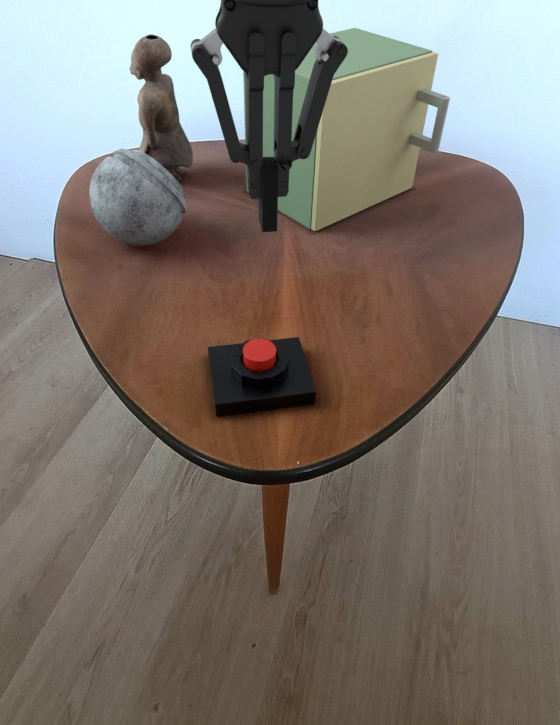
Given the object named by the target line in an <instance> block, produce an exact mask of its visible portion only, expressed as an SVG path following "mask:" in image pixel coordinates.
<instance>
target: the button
mask: <svg viewBox="0 0 560 725" xmlns="http://www.w3.org/2000/svg"><path fill="white" fill-rule="evenodd" d="M250 340H251V341H249V342H247V343H246V344H245V346H244V347H243V362H244V365H245V366H246V367H247V368H248V369H250V370H253V371H257V372H259V371H267V370H269V369H271V368H272V367H273V366H274V365H275V363H276V347H275V345H274V344H273V343H272V342H270V341H268V340H269V339H265V338H255V339H250Z"/></svg>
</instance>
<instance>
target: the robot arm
mask: <svg viewBox="0 0 560 725" xmlns="http://www.w3.org/2000/svg"><path fill="white" fill-rule="evenodd" d="M214 23H215V26H214V27H215V28H214V29H213V30H211V31H210V32H209V33H207V34H206V35H205V36H204V37H202V38H201V39H200V38H195V39H193V40H192V41H191V42H190V46H189V47H190V53H191V57H192V61H193V62H194V63H195V64H196V66H197V67H198V69H199V71H200V72H201V74H202V75H203V76H204V77H205V79H206V81H207V85H208V88H209V92H210V95H211V98H212V102H213V106H214V109H215V112H216V116H217V119H218V122H219V126H220V129H221V133H222V136H223V139H224V143H225V147H226V149H227V153H228V156H229V159H230V162H232V163H233V164H239V163H241V164H244V165H245V166H246V165H247V177H248V178H247V179H248V190H249V192H248V194H249V196H250V198H251V200H254V199H258V221H259V226H260V228H261V229H260V230H261V233H272V232H274V233H275V232H278V214H279V213H278V211H279V210H278V197H285V196H287V194H288V192H289V169H290V168H291V167H292V162H293V161H295V160H297V159H306V158H308V157H309V155H310V152H311V149H312V146H313V142H314V139H315V136H316V133H317V129H318V126H319V123H320V119H321V116H322V113H323V109H324V106H325V103H326V99H327V96H328V93H329V89H330V86H331V83H332V79H333V76H334V74H335V72H336V71H337V70H338V68H339V67H340V65H341V64H342V62H343V61H344V59H345V58H346V56H347V54H348V49H347V47H346V45H345V44H344V43H343V42H342V41H341V40H340V38H339V37H337V36H332V35H331V34H330V33H331V32H328V31H327V30H326V29H325V28H324V20H323V17H322V15H321V12H320V9H319V0H220V6H219V9H218V12H217V14H216V17H215V22H214ZM315 42H316V48H315V50H314V54H315V57H316V58H317V59H316V61H315V63H314V66H313V69H312V73H311V76H310V80H309V84H308V87H307V91H306V94H305V98H304V102H303V105H302V109H301V113H300V116H299V120H298V124H297V127H296V131H295V134H294V138H293V141H291V140H292V112H293V89H294V86H295V70H296V69H297V68H298V67H299V66H300V64H301V63H302V62H303V60H304V59H305V57H306V56H307V54H308V53H309V51H310V50H311V48H312V47H313V45H314V44H315ZM222 45H224V47H225V48H226V49H227V51H228V52H229V53H230V55H231V56H232V57H233V59H234V60H235V62H236V63H237V65H238V66H239V68H240V69H241V70H242V72H243V71H244V76H245V102H246V144H245V143H242V142H240V139H239V136H238V131H237V128H236V124H235V121H234V117H233V114H232V110H231V107H230V103H229V99H228V96H227V92H226V88H225V84H224V81H223V77H222V74H221V70H220V67H219V66H220V65H221V64H222V62H223V55H222V51H221V48H222ZM269 74H273V75H274V157H263V90H264V76H266V75H269Z"/></svg>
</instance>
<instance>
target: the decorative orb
mask: <svg viewBox="0 0 560 725" xmlns="http://www.w3.org/2000/svg"><path fill="white" fill-rule="evenodd" d="M88 190H89V192H88V193H89V196H88V197H89V203H90V207H91V211H92V213H93V215H94V217H95V219H96V221H97V222H98V224H99V225H100V226H101V227H102V229H103V230H104V231H105V232H107V234H109V235H110V236H111V237H113V238H114V239H115V240H118V241H120V242H121V243H125V244H128V245H132V246H149V245H151V246H152V245H154V244H157V243H160V242H162V241H165V239H167V238H168V237H170V236H171V235H172V234H173V233H174V232H175V231H176V230H177V228H178V227H179V226H180V223H181V222H182V218H183V217H182V215H181V214H185V213H186V210H187V206H188V205H187V201H186V199H185V196H184V194H185V191H184V188H183V186H182V185H181V183H180V181H177V180H176V179H175V178H174V176H173V175H172V174H171V173H170V172H169V171H168V170H166V169H165V168H164V167H163V166H162V165H161V164H160V163H158V162H157V161H156V160H154V159H153V158H152V157H150V156H149V155H148V154H145V153H144V152H142V151H139V149H132V150H131V149H126V148H119V149H117V150H114V151H113V152H112V156H107V157H105V158H104V159H103V160H102V161H101V162H100V163H99V164H98V166H97V167H96V168H95V170H94V172H93V174H92V177H91V180H90V183H89V189H88Z"/></svg>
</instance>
